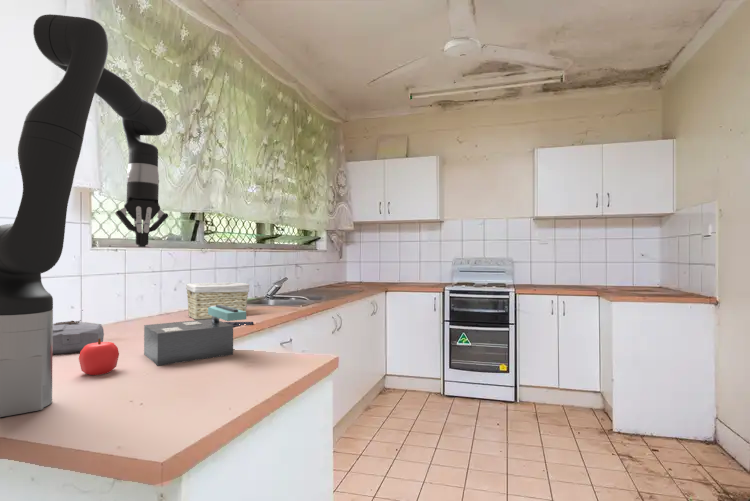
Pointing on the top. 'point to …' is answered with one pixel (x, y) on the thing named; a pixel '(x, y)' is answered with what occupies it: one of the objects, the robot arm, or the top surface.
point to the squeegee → (239, 323)
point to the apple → (98, 358)
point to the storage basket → (215, 297)
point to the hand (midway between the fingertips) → (141, 246)
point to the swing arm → (226, 313)
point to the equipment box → (187, 341)
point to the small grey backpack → (75, 336)
